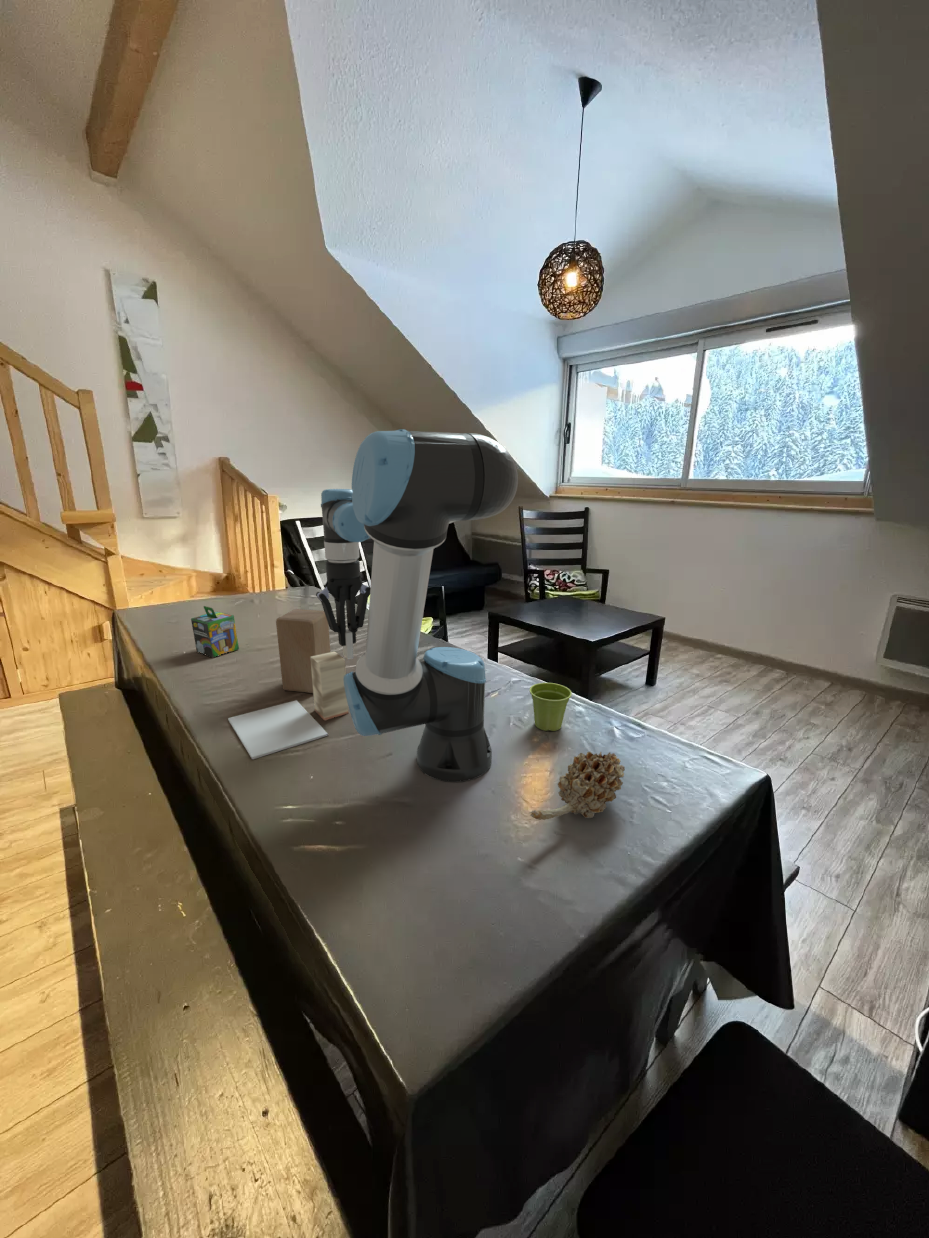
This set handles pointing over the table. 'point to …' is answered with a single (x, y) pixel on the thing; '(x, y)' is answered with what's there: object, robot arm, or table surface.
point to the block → (301, 646)
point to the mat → (276, 728)
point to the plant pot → (549, 705)
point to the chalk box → (214, 633)
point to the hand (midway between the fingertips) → (348, 657)
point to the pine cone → (587, 785)
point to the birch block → (329, 685)
